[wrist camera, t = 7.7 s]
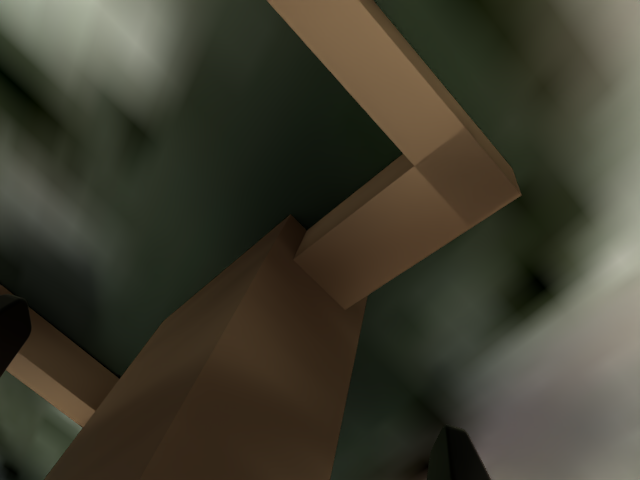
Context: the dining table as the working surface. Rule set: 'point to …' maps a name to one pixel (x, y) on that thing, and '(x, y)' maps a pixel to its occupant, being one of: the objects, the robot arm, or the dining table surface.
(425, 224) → the brown wooden piece
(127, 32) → the dining table surface
